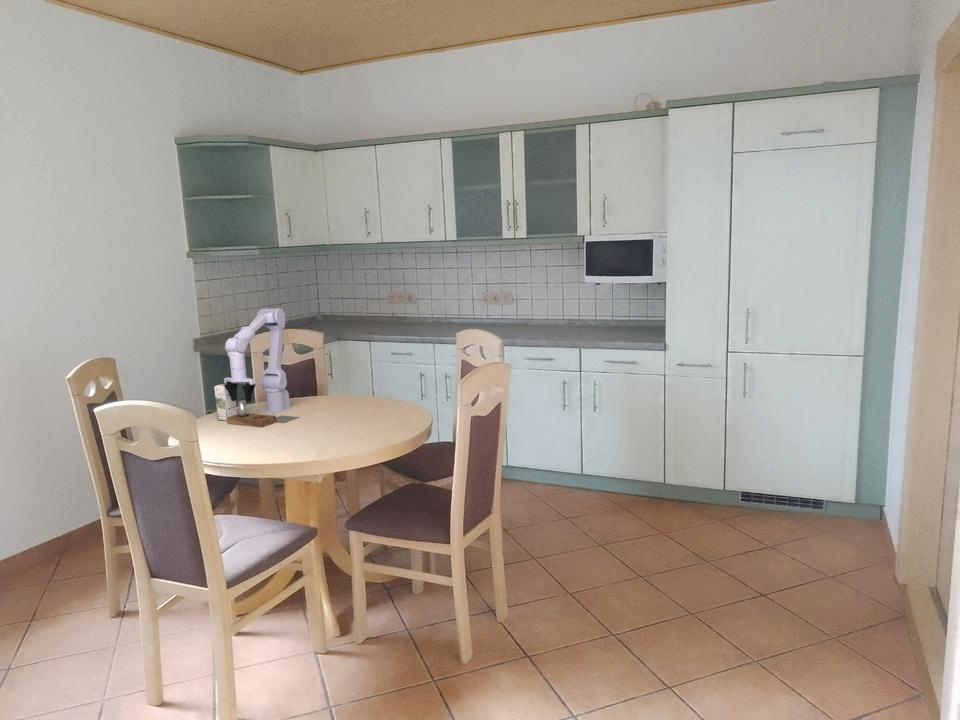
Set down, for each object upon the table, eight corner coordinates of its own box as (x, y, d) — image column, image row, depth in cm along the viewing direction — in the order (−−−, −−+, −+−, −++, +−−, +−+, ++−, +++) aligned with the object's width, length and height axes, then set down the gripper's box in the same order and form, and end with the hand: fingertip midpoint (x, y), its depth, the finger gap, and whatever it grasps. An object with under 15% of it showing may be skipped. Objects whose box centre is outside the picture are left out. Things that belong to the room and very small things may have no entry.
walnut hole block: (242, 419, 288) (241, 412, 288) (276, 423, 281) (275, 415, 280) (227, 424, 281) (227, 417, 281) (262, 428, 273) (261, 420, 273)
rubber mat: (281, 416, 292) (281, 415, 292) (300, 417, 288) (300, 417, 288) (264, 422, 283) (264, 421, 283) (284, 423, 279) (284, 423, 279)
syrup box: (238, 418, 292) (234, 383, 289) (227, 421, 287) (224, 386, 284) (227, 417, 294) (224, 383, 292) (217, 420, 289) (213, 386, 287)
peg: (244, 421, 285) (242, 400, 284) (249, 422, 283) (247, 400, 282) (238, 423, 283) (236, 401, 281) (242, 424, 281) (240, 402, 279)
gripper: (216, 368, 279) (220, 402, 281) (244, 370, 272) (248, 404, 275) (230, 365, 285) (233, 398, 287) (257, 367, 279) (260, 400, 281)
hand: (241, 401), depth 281 cm, fingers open, 7 cm apart
